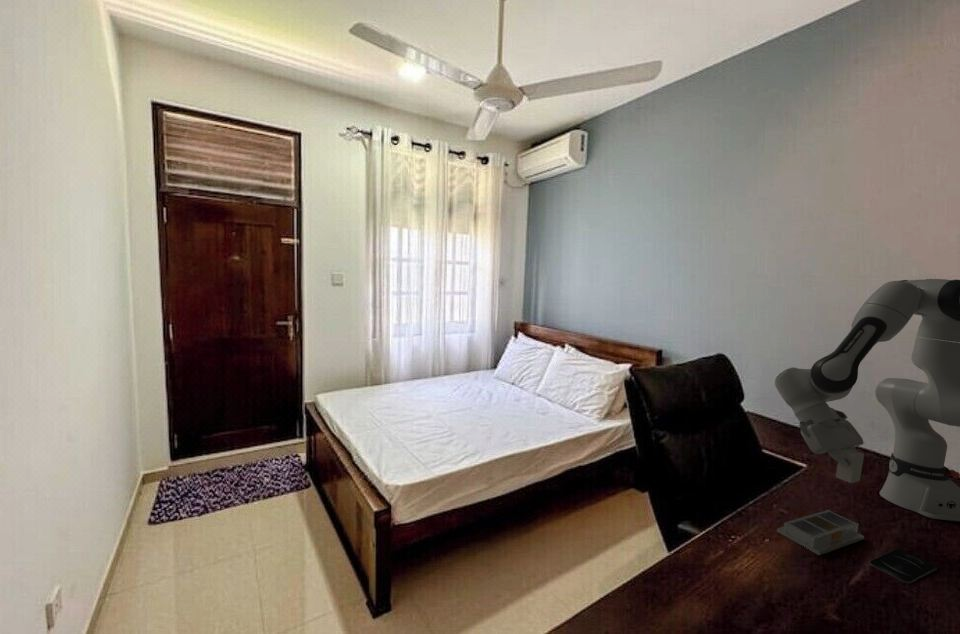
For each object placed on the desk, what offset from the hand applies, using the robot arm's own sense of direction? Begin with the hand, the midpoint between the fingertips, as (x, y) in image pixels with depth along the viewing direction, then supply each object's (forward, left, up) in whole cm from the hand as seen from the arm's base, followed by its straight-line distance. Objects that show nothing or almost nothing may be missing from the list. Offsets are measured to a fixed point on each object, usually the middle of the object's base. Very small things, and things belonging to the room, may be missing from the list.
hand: (852, 465), depth 114 cm
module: (0, 0, -4) cm, 4 cm away
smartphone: (-5, +16, -18) cm, 25 cm away
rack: (+9, +9, -18) cm, 22 cm away
